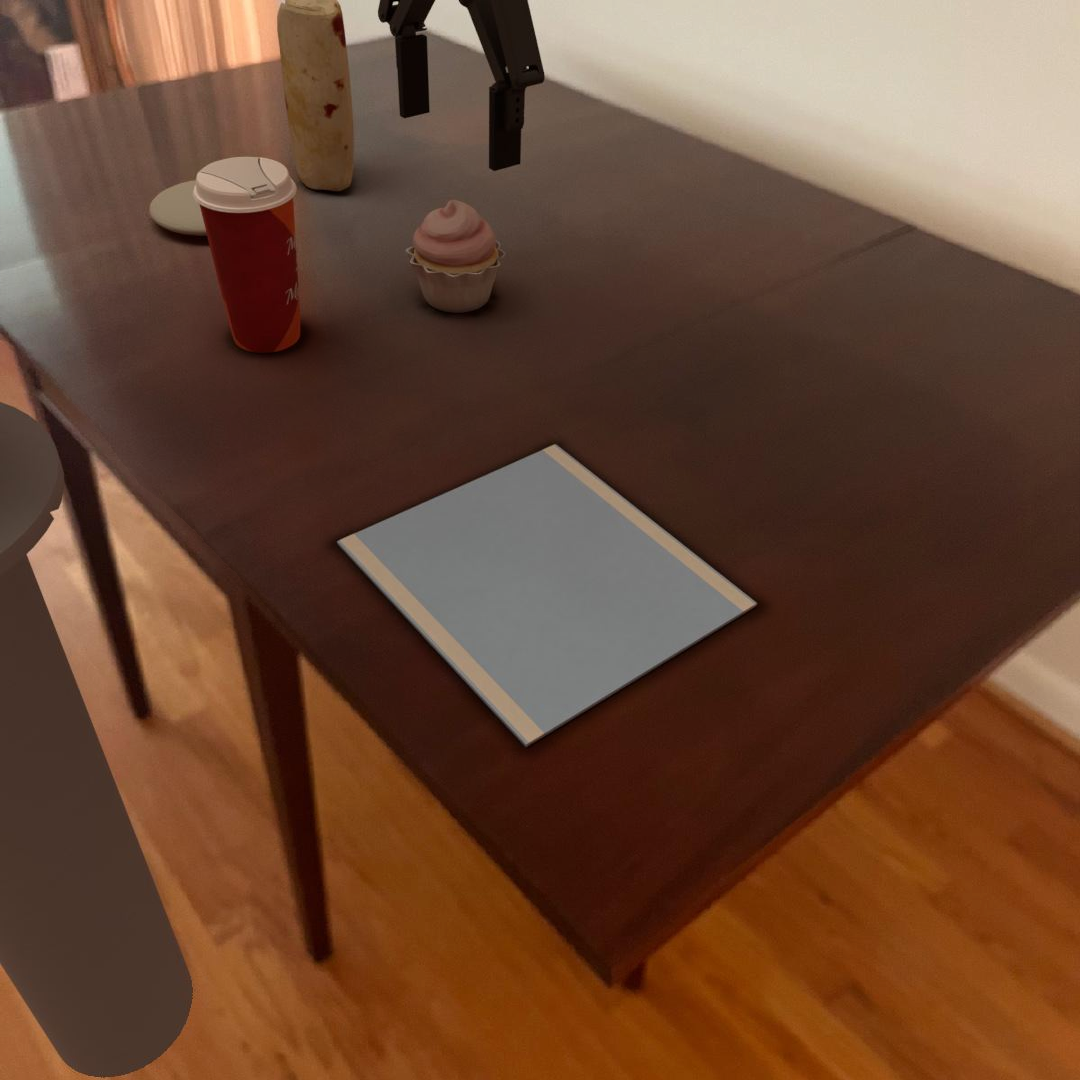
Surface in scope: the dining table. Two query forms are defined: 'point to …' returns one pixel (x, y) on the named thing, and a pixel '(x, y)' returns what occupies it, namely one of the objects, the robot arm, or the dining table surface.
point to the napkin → (544, 588)
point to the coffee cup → (253, 248)
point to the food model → (317, 91)
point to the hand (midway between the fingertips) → (457, 139)
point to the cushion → (178, 210)
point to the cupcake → (455, 258)
